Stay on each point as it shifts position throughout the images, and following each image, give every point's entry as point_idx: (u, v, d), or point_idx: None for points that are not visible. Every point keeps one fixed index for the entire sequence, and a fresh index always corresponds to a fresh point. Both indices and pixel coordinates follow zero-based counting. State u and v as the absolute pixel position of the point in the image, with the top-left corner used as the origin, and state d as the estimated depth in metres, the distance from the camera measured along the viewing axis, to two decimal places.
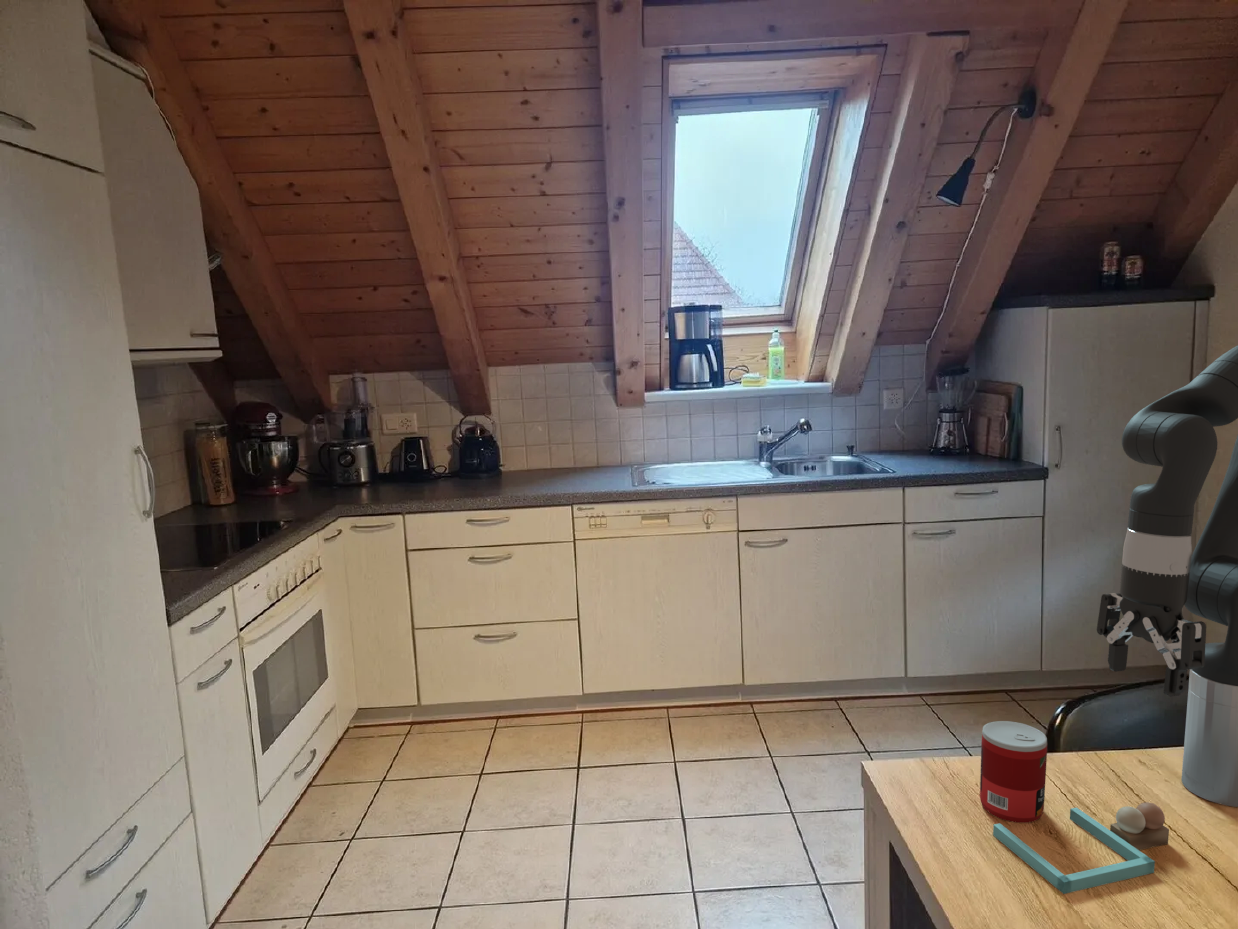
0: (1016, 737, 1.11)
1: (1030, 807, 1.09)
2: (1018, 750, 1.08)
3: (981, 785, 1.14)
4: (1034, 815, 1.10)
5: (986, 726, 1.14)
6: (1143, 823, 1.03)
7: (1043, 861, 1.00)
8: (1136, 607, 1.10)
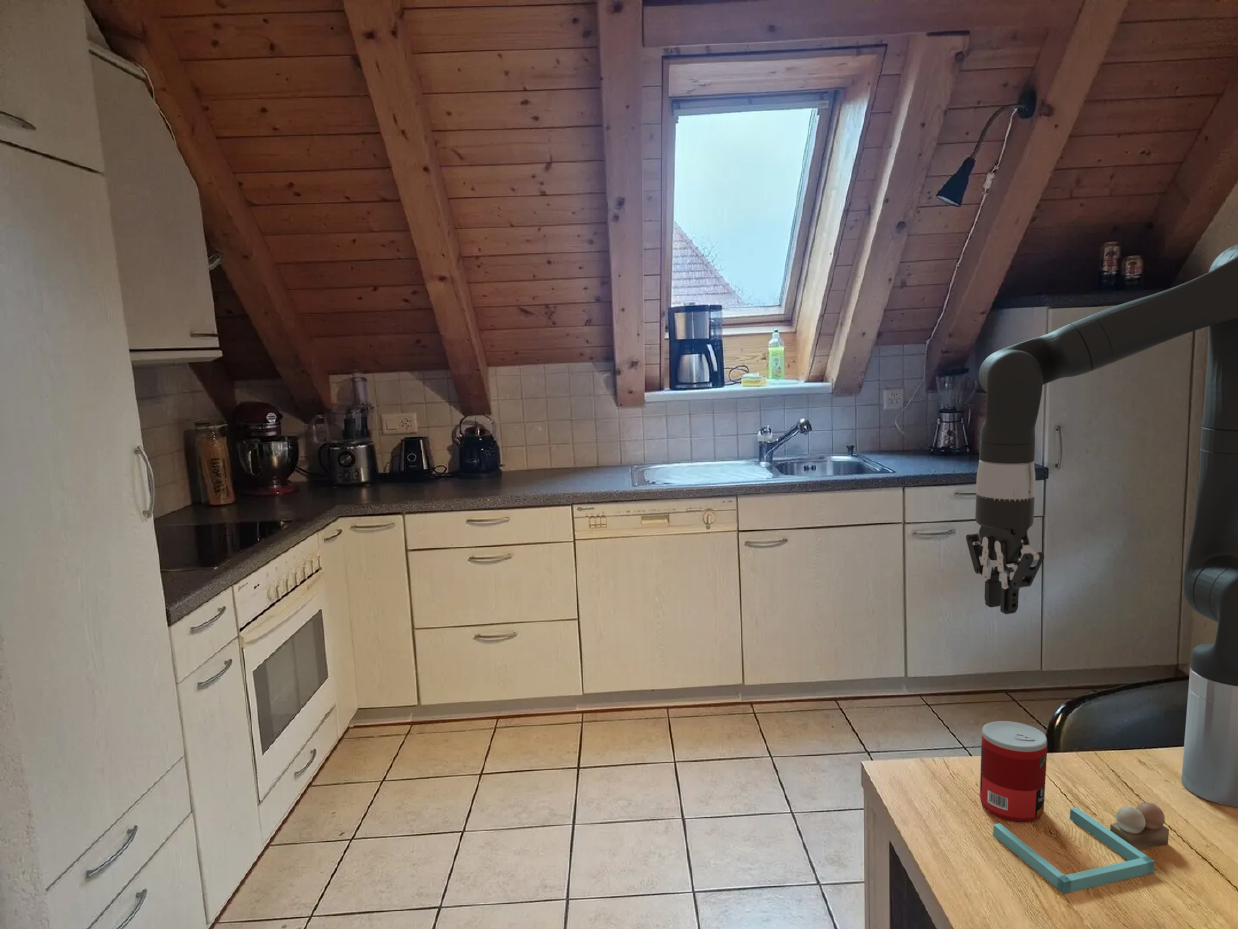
0: (1016, 737, 1.11)
1: (1030, 807, 1.09)
2: (1018, 749, 1.08)
3: (981, 785, 1.14)
4: (1034, 815, 1.10)
5: (986, 726, 1.14)
6: (1143, 823, 1.03)
7: (1043, 861, 1.00)
8: (991, 533, 1.18)
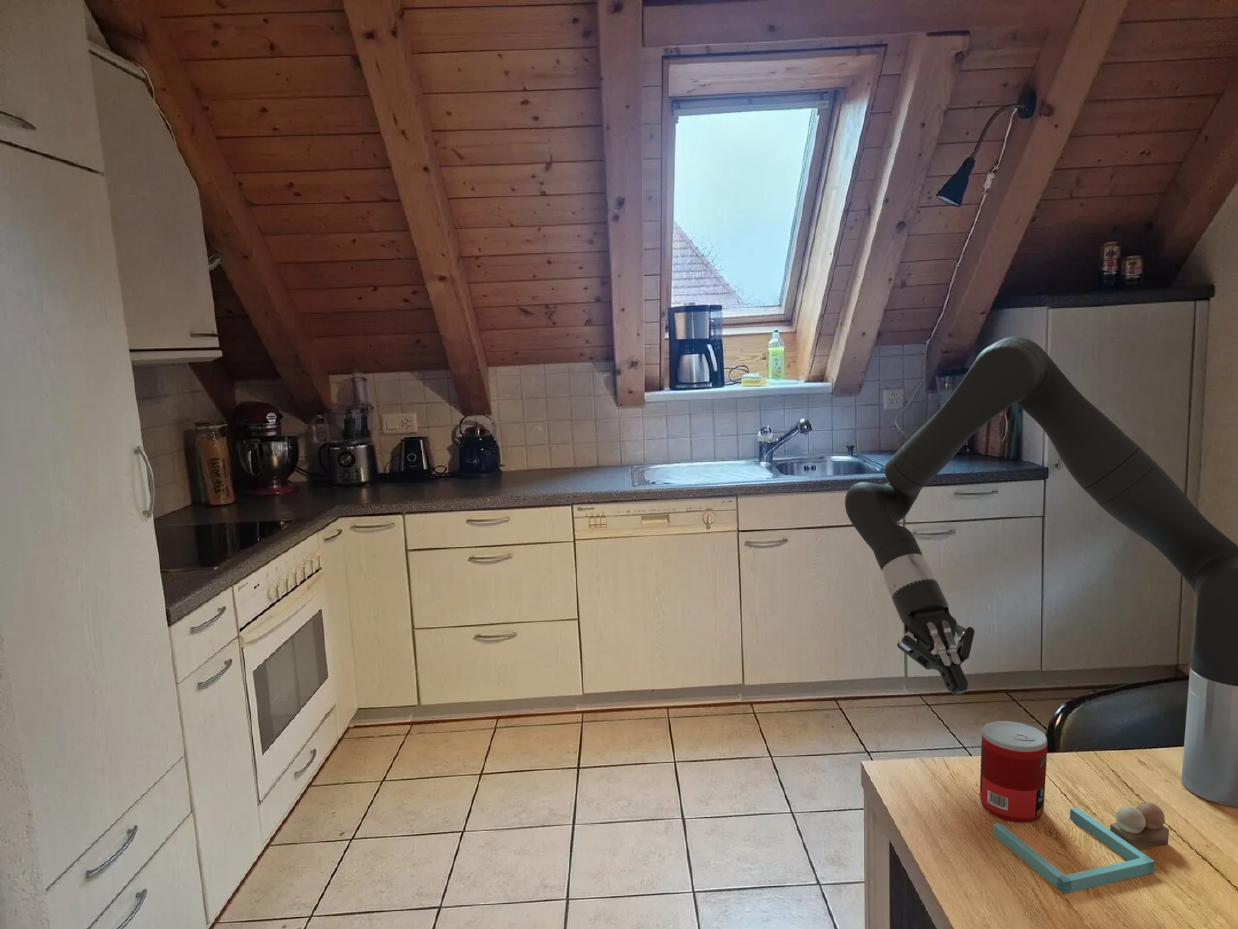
0: (1016, 737, 1.11)
1: (1030, 807, 1.09)
2: (1018, 750, 1.08)
3: (981, 785, 1.14)
4: (1034, 815, 1.10)
5: (986, 726, 1.14)
6: (1143, 823, 1.03)
7: (1043, 861, 1.00)
8: None
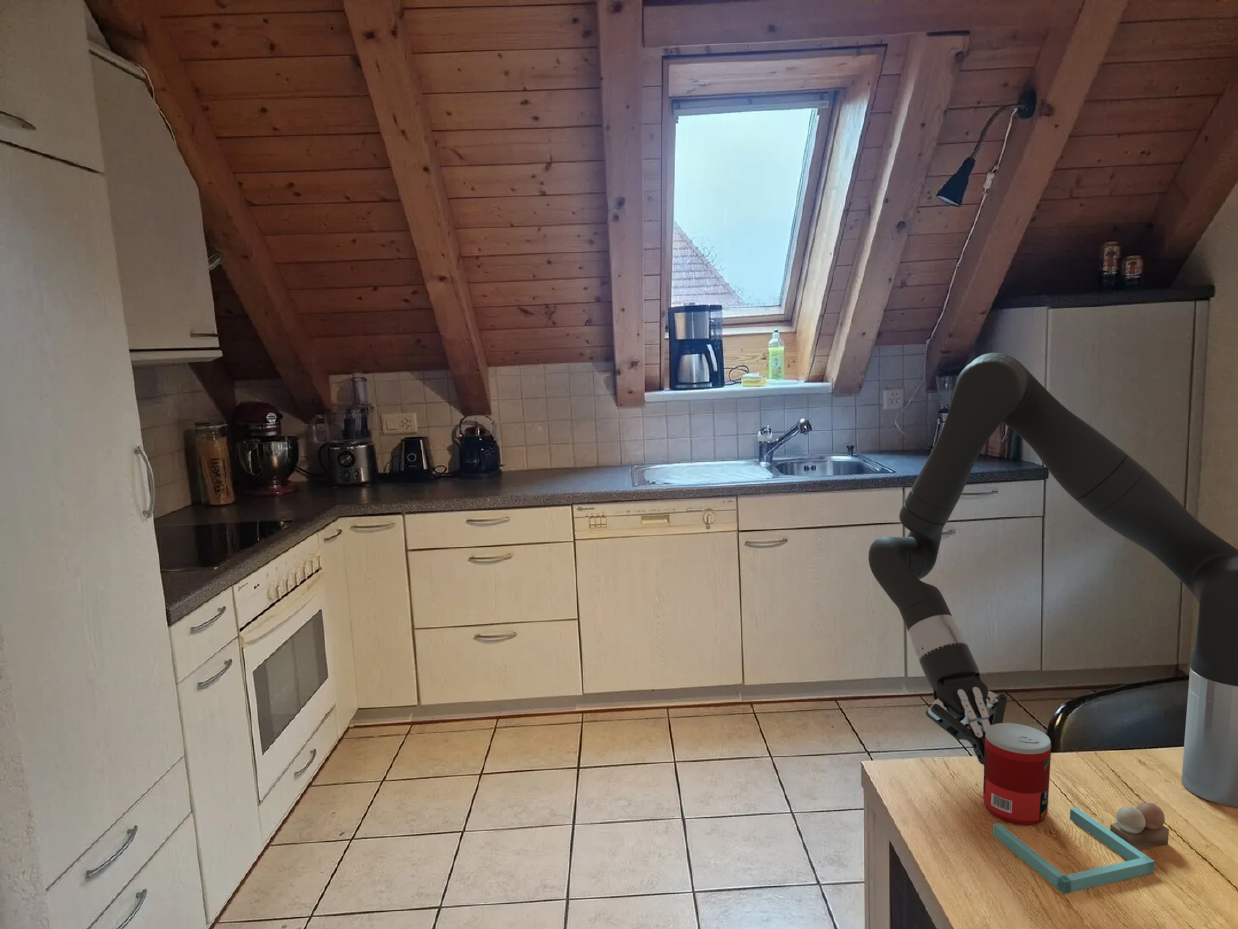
0: (1020, 739, 1.10)
1: (1034, 809, 1.09)
2: (1022, 752, 1.07)
3: (984, 787, 1.13)
4: (1038, 818, 1.09)
5: (989, 728, 1.13)
6: (1143, 823, 1.03)
7: (1043, 861, 1.00)
8: None
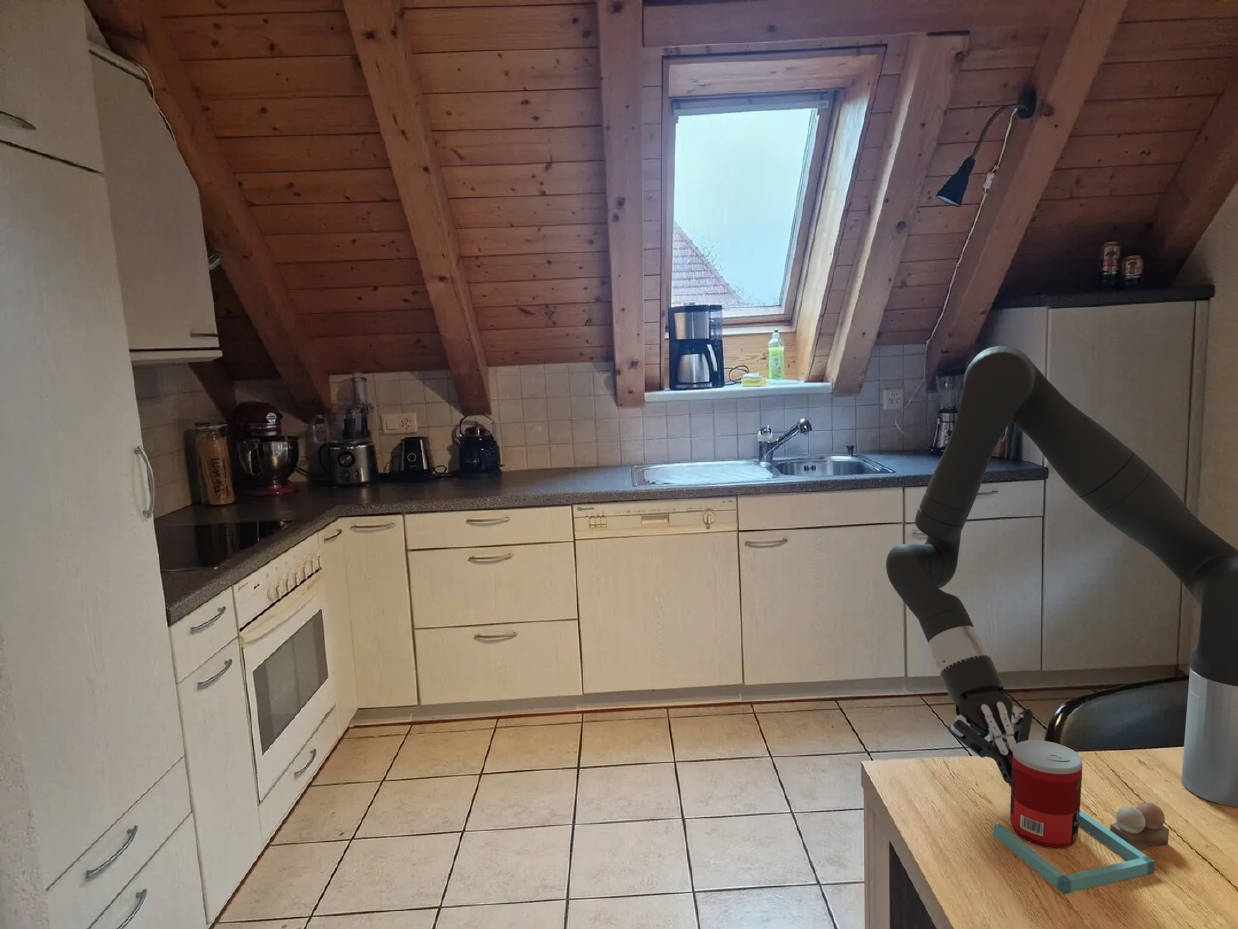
0: (1050, 758, 1.05)
1: (1067, 831, 1.04)
2: (1055, 772, 1.02)
3: (1012, 809, 1.08)
4: (1070, 840, 1.04)
5: (1016, 746, 1.08)
6: (1143, 823, 1.03)
7: (1043, 861, 1.00)
8: None
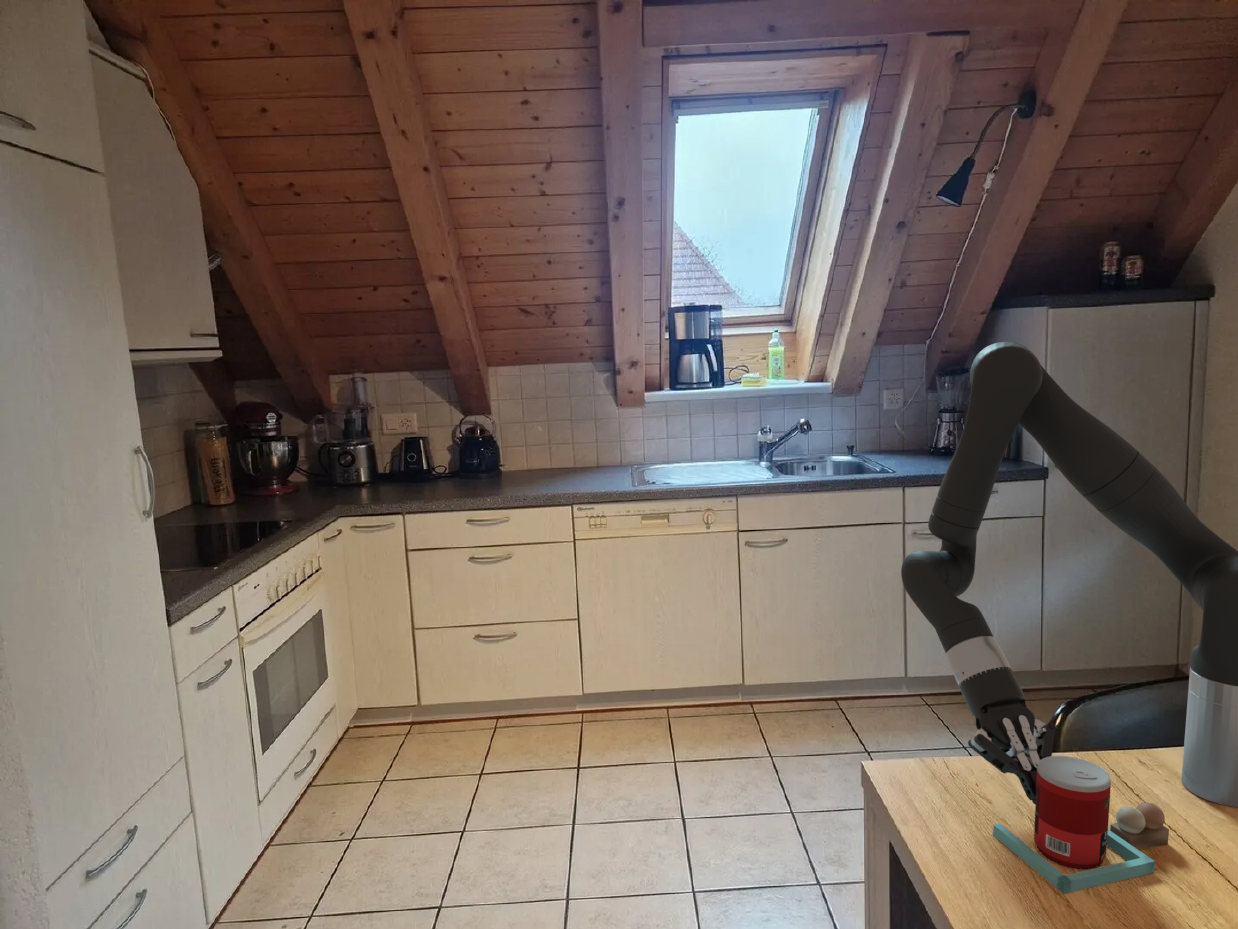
0: (1076, 775, 1.01)
1: (1094, 852, 0.99)
2: (1082, 790, 0.98)
3: (1036, 828, 1.04)
4: (1098, 861, 1.00)
5: (1041, 763, 1.04)
6: (1143, 823, 1.03)
7: (1043, 861, 1.00)
8: None
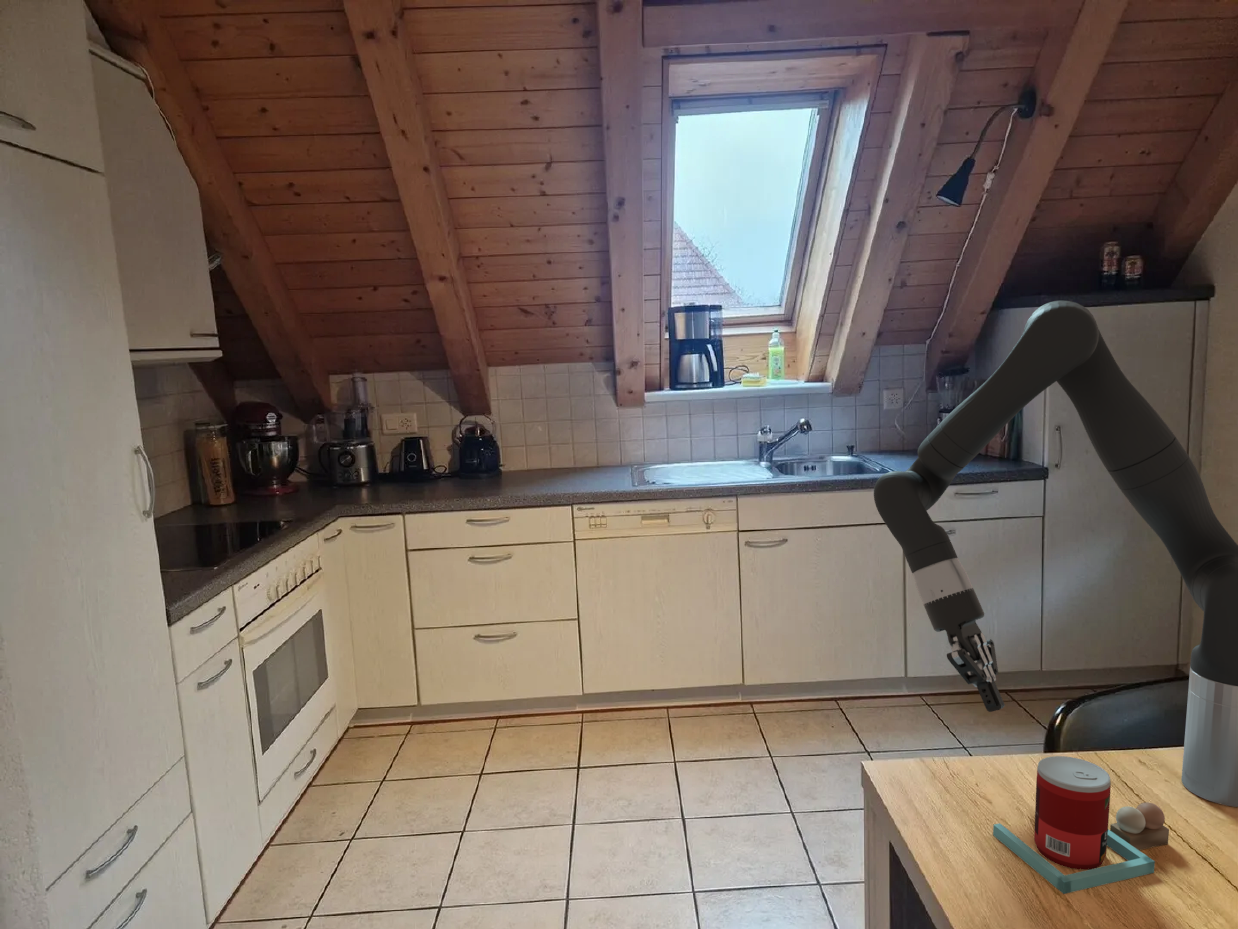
0: (1076, 775, 1.01)
1: (1094, 852, 0.99)
2: (1082, 790, 0.98)
3: (1036, 828, 1.04)
4: (1098, 861, 1.00)
5: (1041, 763, 1.04)
6: (1143, 823, 1.03)
7: (1043, 861, 1.00)
8: None
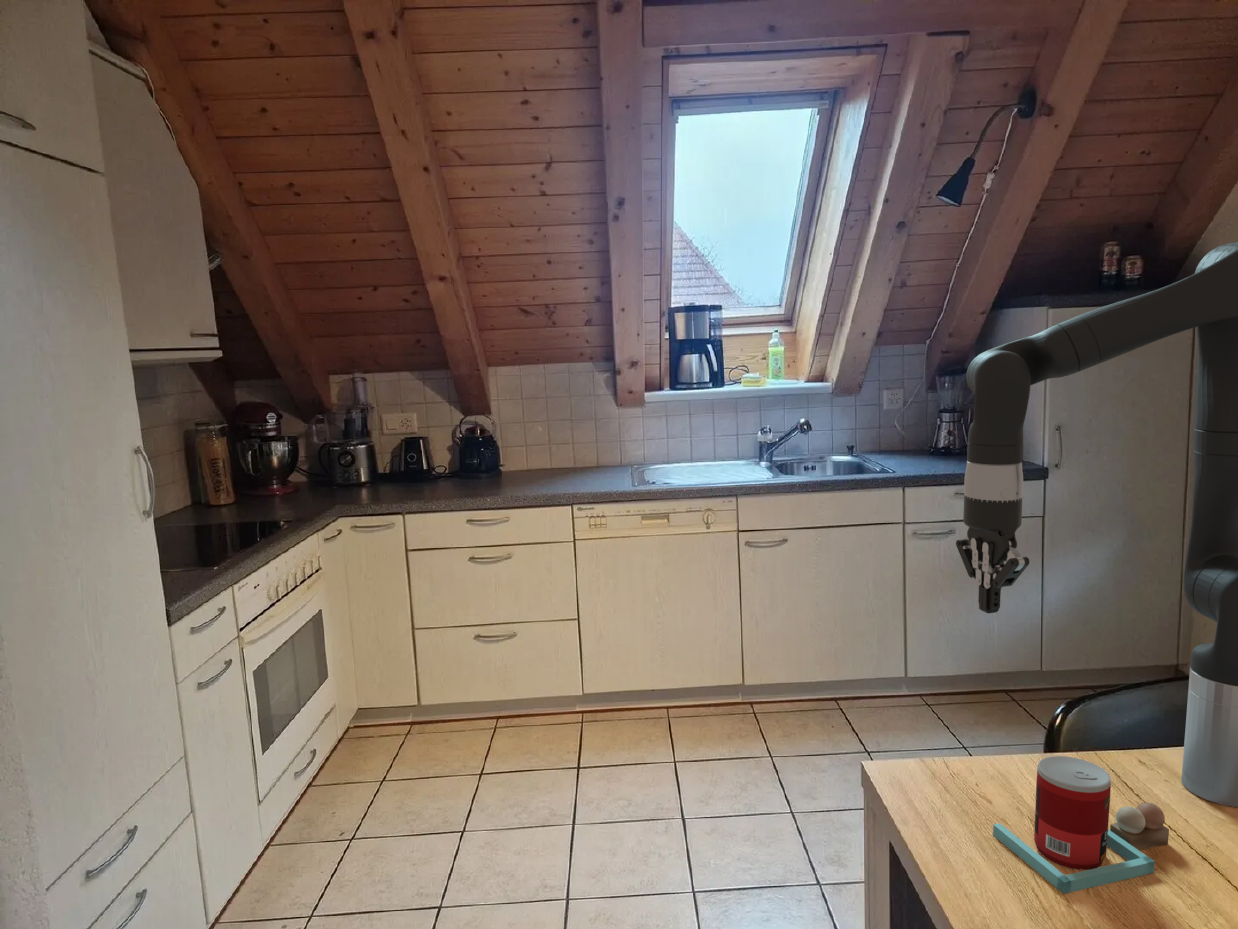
0: (1076, 775, 1.01)
1: (1094, 852, 0.99)
2: (1082, 790, 0.98)
3: (1036, 828, 1.04)
4: (1098, 861, 1.00)
5: (1041, 763, 1.04)
6: (1143, 823, 1.03)
7: (1043, 861, 1.00)
8: (979, 534, 1.18)
